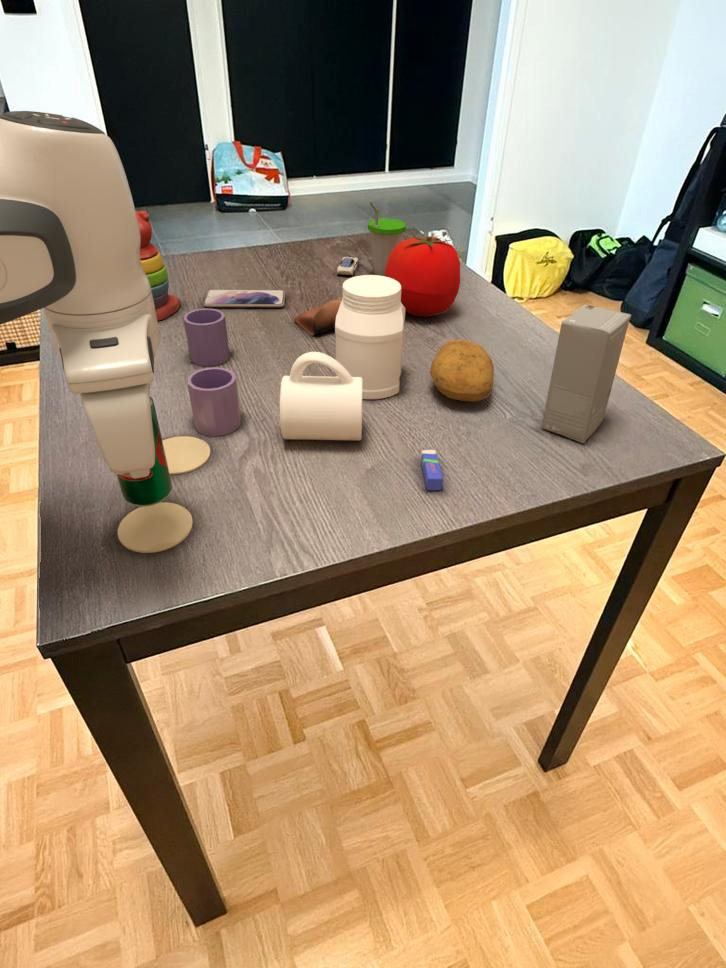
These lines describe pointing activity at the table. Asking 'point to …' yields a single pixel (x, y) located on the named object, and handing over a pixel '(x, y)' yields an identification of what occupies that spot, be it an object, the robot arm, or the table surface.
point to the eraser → (431, 470)
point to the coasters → (165, 503)
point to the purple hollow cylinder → (207, 336)
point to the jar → (371, 333)
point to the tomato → (425, 274)
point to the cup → (384, 239)
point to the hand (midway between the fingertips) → (138, 455)
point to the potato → (463, 371)
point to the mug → (320, 402)
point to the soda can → (158, 479)
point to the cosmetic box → (584, 371)
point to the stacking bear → (155, 270)
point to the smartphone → (245, 298)
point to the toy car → (347, 266)
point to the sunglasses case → (319, 317)
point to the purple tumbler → (214, 401)
